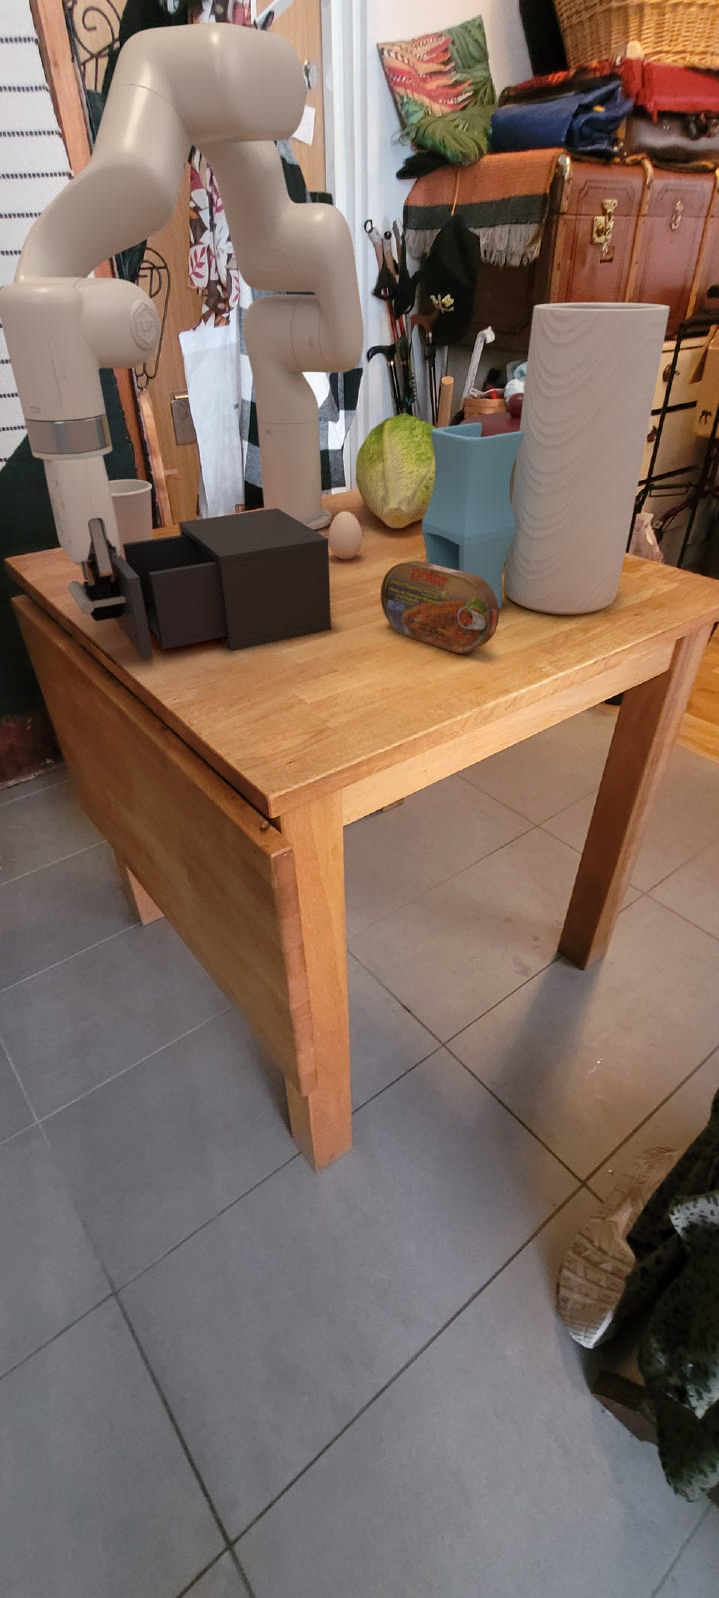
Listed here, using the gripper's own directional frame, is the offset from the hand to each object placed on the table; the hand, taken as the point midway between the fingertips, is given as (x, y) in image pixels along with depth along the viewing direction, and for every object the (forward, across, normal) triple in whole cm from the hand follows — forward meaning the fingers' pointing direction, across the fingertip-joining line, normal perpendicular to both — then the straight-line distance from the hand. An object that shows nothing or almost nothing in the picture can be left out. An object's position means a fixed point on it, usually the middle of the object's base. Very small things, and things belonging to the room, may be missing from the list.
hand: (107, 616), depth 85 cm
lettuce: (+4, -30, +55) cm, 63 cm away
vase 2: (+4, +12, +54) cm, 56 cm away
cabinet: (+4, 0, +18) cm, 18 cm away
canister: (+4, -6, +59) cm, 60 cm away
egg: (+4, -15, +37) cm, 40 cm away
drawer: (+3, 0, +5) cm, 6 cm away
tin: (+4, +16, +33) cm, 37 cm away
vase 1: (+4, +8, +42) cm, 43 cm away
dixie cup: (+4, -31, +10) cm, 33 cm away
